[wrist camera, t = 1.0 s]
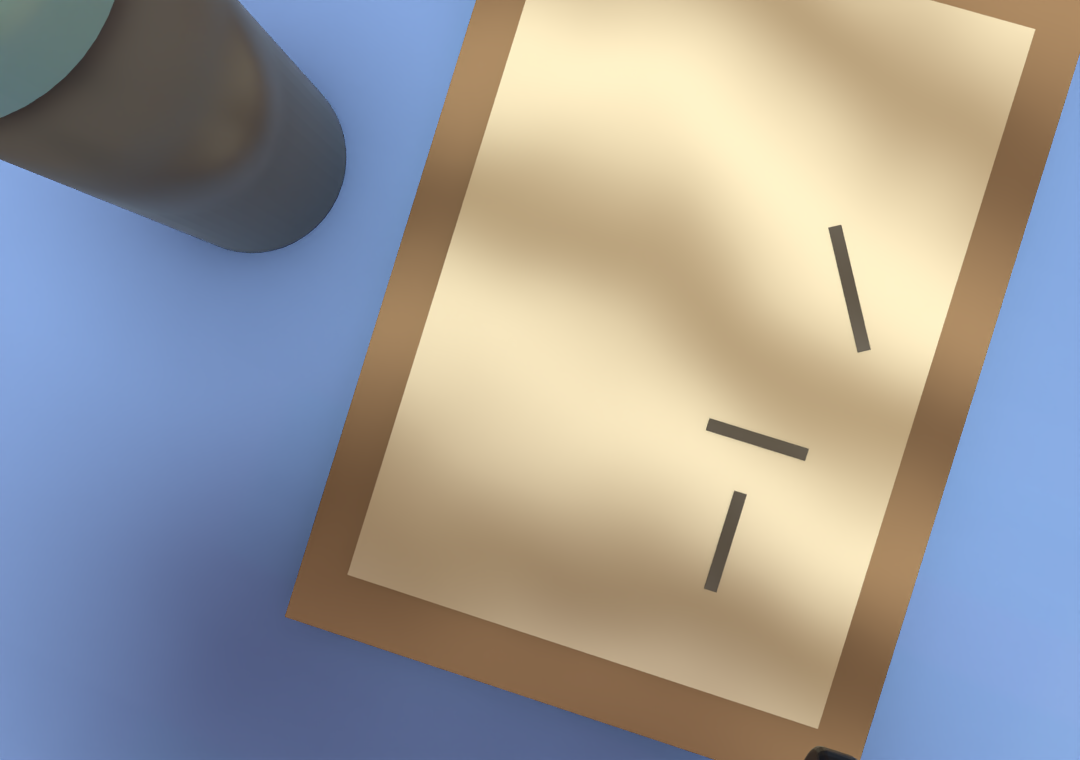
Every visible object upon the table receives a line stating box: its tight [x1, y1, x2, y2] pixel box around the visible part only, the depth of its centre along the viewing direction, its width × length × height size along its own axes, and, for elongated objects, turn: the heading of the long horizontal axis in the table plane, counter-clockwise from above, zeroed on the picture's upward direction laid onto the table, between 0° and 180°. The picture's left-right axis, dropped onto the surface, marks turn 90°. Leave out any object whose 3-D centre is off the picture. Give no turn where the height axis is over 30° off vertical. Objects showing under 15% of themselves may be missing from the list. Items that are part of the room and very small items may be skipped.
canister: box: [0, 0, 346, 253], centre depth 16 cm, size 5×5×14 cm
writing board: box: [285, 0, 1080, 760], centre depth 22 cm, size 20×14×1 cm
